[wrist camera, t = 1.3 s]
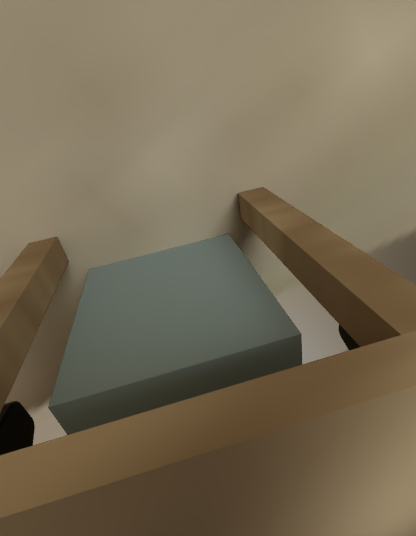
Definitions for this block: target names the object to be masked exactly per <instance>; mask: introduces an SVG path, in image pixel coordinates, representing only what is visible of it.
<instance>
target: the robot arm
mask: <svg viewBox="0 0 416 536" xmlns="http://www.w3.org/2000/svg"><path fill="white" fill-rule="evenodd" d="M339 333H340V335H341V338H342V339H343V341H344V343H345V344H346V346H347V348H348V349H349V351H350V350H353V349H356V348H360V346H359V345H358V344H357V343H356V341H355V340H354V339H353V338H352V337H351V336H350V335H349V334H348V333H347V332H346V331H345V330H344V328H343V327H342V326H341V325H340V324H339ZM33 437H34V421H33V419H32V417H31V416H30V415H29V414H28V412H27V411H26V410H25V408H24V407H23V406H22V405H21V403H20V402H17V401H14V402H10V403H7V404H4V406H3V408H2V410H1V413H0V455H3V454H7V453H10V452H13V451H17V450H20V449H23V448H27V447H30V446H33Z"/></svg>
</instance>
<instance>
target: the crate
mask: <svg viewBox="0 0 416 536" xmlns="http://www.w3.org/2000/svg"><path fill="white" fill-rule="evenodd" d="M238 197H239V205H240V213H241V218H242V219H243V221H244V222H245V223H246V224H247V225H248V226H249V227H250V228H251V229H252V230H253V231H254V232H255V233H256V235H257V236H258V237H259V238H260V239H261V240H262V241H263V242H264V243H265V244H266V245H267V246H268V248H269V249H270V250H271V251H272V252H273V253H274V254H275V255H276V256H277V257H278V258H279V259H280V260H281V262H282V263H283V264H284V265H285V266H286V267H287V268H288V269H289V270H290V271H291V272H292V273H293V275H294V276H295V277H296V278H297V279H298V280H299V281H300V282H301V283H302V284H303V285H304V286H305V287H306V289H307V290H308V291H309V292H310V293H311V294H312V295H313V296H314V297H315V298H316V299H317V300H318V302H319V303H320V304H321V305H322V306H323V307H324V308H325V309H326V310H327V311H328V312H329V313H330V314H331V316H332V317H333V318H335V320H336V321H337V322H338V323H339V324H340V325H341V326H342V327H343V328H344V330H345V331H346V332H347V333H348V334H349V335H350V336H351V337H352V338H353V339H354V340H355V341H356V343H357V344H358V345H359V346H360V348H356V349H353V350H350V351H346V352H343V353H340V354H336V355H333V356H330V357H326V358H323V359H320V360H317V361H313V362H310V363H307V364H303V365H300V366H296V367H293V368H290V369H286V370H283V371H280V372H276V373H273V374H270V375H266V376H263V377H260V378H256V379H253V380H250V381H246V382H243V383H240V384H236V385H233V386H230V387H226V388H223V389H220V390H216V391H213V392H210V393H206V394H203V395H200V396H196V397H193V398H190V399H186V400H183V401H180V402H176V403H173V404H170V405H166V406H163V407H160V408H156V409H153V410H150V411H146V412H143V413H140V414H136V415H133V416H130V417H127V418H123V419H120V420H117V421H113V422H110V423H107V424H103V425H100V426H97V427H93V428H90V429H87V430H83V431H80V432H77V433H73V434H70V435H67V436H63V437H60V438H57V439H54V440H50V441H47V442H43V443H40V444H37V445H33V446H30V447H27V448H23V449H20V450H17V451H13V452H10V453H7V454H3V455H0V536H416V285H414V284H412V283H411V282H409V281H408V280H406V279H405V278H403V277H401V276H400V275H398V274H397V273H395V272H394V271H392V270H391V269H389V268H388V267H386V266H384V265H383V264H382V263H380V262H378V261H377V260H375V259H374V258H372V257H371V256H369V255H368V254H366V253H364V252H363V251H361V250H360V249H358V248H357V247H355V246H354V245H352V244H350V243H349V242H347V241H346V240H344V239H343V238H341V237H340V236H338V235H337V234H335V233H333V232H332V231H330V230H329V229H327V228H326V227H324V226H323V225H321V224H319V223H318V222H316V221H315V220H313V219H312V218H310V217H309V216H307V215H305V214H304V213H302V212H301V211H299V210H298V209H296V208H295V207H293V206H292V205H290V204H288V203H287V202H285V201H284V200H282V199H281V198H279V197H278V196H276V195H274V194H273V193H271V192H270V191H268V190H267V189H265V188H264V187H262V188H258V189H254V190H249V191H245V192H241V193H238ZM67 263H68V259H67V257H66V255H65V253H64V251H63V248H62V246H61V244H60V242H59V240H58V238H57V237H54V238H50V239H46V240H42V241H38V242H34V243H29V244H28V245H27V246H26V247H25V249H24V250H23V251H22V252H21V254H20V255H19V256H18V257H17V259H16V260H15V261H14V263H13V264H12V265H11V266H10V268H9V269H8V270H7V271H6V273H5V274H4V275H3V276H2V278H1V279H0V413H1V410H2V408H3V406H4V404H5V401H6V399H7V397H8V395H9V393H10V390H11V388H12V386H13V384H14V381H15V379H16V377H17V375H18V372H19V370H20V368H21V366H22V364H23V361H24V359H25V357H26V355H27V352H28V350H29V348H30V346H31V343H32V341H33V339H34V337H35V335H36V332H37V330H38V328H39V326H40V323H41V321H42V319H43V317H44V314H45V312H46V310H47V308H48V306H49V303H50V301H51V299H52V297H53V294H54V292H55V290H56V288H57V285H58V283H59V281H60V279H61V277H62V274H63V272H64V270H65V268H66V265H67Z"/></svg>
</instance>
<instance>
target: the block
mask: <svg viewBox="0 0 416 536" xmlns="http://www.w3.org/2000/svg"><path fill="white" fill-rule="evenodd" d="M300 365H302V344H301V333H300V332H299V330H298V329H297V327H296V326H295V325H294V323H293V322H292V320H291V319H290V318H289V316H288V315H287V314H286V312H285V311H284V309H283V308H282V307H281V305H280V304H279V302H278V301H277V300H276V298H275V297H274V295H273V294H272V293H271V291H270V290H269V289H268V287H267V286H266V284H265V283H264V282H263V280H262V279H261V277H260V276H259V275H258V273H257V272H256V271H255V269H254V268H253V266H252V265H251V264H250V262H249V261H248V259H247V258H246V257H245V255H244V254H243V252H242V251H241V250H240V248H239V247H238V246H237V244H236V243H235V241H234V240H233V239H232V237H231V236H230V234H227V235H223V236H219V237H215V238H211V239H207V240H203V241H199V242H195V243H191V244H187V245H183V246H179V247H175V248H172V249H168V250H164V251H160V252H156V253H152V254H148V255H144V256H140V257H136V258H132V259H128V260H124V261H120V262H116V263H112V264H108V265H104V266H100V267H96V268H92V269H89V272H88V276H87V279H86V282H85V286H84V289H83V292H82V296H81V299H80V302H79V306H78V309H77V312H76V316H75V319H74V323H73V326H72V329H71V333H70V336H69V339H68V343H67V346H66V349H65V353H64V356H63V360H62V363H61V366H60V370H59V373H58V376H57V380H56V383H55V386H54V390H53V393H52V396H51V400H50V403H49V407H48V408H49V409H50V411H51V412H52V413H53V415H54V416H55V418H56V419H57V420H58V422H59V423H60V425H61V426H62V427H63V429H64V430H65V432H66V433H67V435H70V434H73V433H77V432H80V431H83V430H87V429H90V428H93V427H97V426H100V425H103V424H107V423H110V422H113V421H117V420H120V419H123V418H127V417H130V416H133V415H136V414H140V413H143V412H146V411H150V410H153V409H156V408H160V407H163V406H166V405H170V404H173V403H176V402H180V401H183V400H186V399H190V398H193V397H196V396H200V395H203V394H206V393H210V392H213V391H216V390H220V389H223V388H226V387H230V386H233V385H236V384H240V383H243V382H246V381H250V380H253V379H256V378H260V377H263V376H266V375H270V374H273V373H276V372H280V371H283V370H286V369H290V368H293V367H296V366H300Z"/></svg>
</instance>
